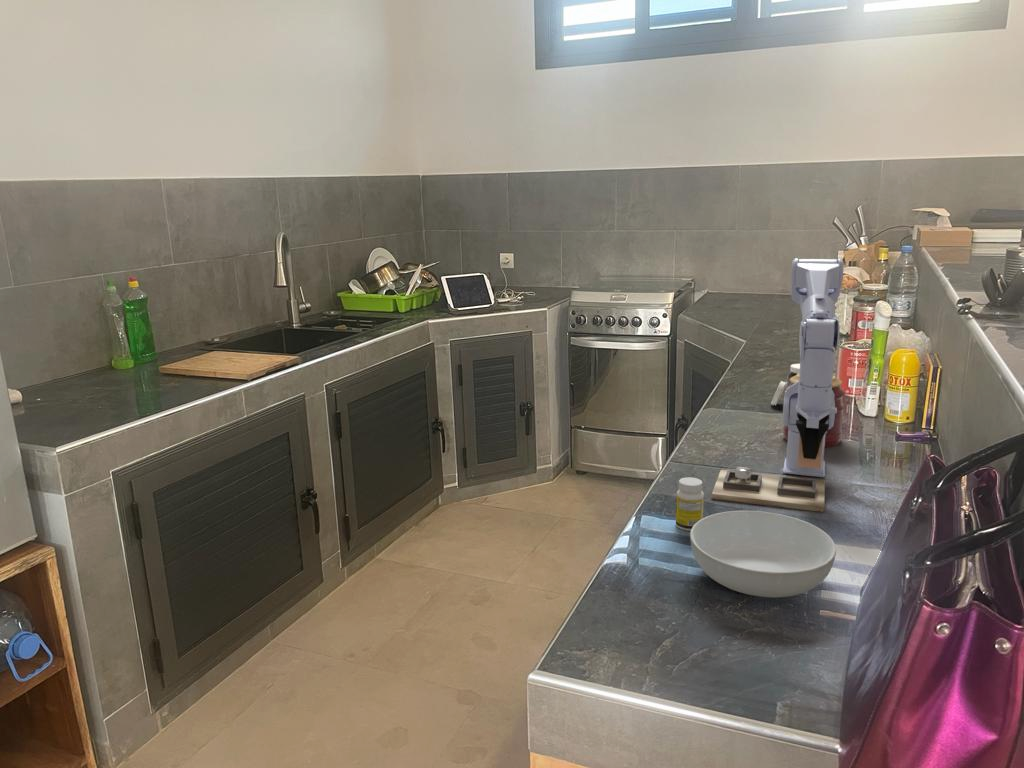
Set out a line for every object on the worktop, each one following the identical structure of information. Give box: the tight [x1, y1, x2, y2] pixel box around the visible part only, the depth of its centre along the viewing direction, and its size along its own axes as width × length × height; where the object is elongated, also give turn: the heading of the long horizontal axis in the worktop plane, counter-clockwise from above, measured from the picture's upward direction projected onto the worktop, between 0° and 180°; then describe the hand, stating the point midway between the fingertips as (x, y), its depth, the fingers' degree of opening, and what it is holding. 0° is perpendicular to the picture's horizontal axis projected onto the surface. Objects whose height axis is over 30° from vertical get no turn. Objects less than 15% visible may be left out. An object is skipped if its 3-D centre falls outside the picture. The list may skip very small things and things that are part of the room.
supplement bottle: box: [675, 476, 705, 532], centre depth 137 cm, size 5×5×8 cm
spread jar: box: [770, 363, 800, 407], centre depth 208 cm, size 12×11×12 cm
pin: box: [734, 466, 752, 484], centre depth 154 cm, size 3×3×3 cm
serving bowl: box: [689, 510, 837, 598], centre depth 118 cm, size 21×21×7 cm
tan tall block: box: [798, 436, 823, 469], centre depth 146 cm, size 4×4×7 cm
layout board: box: [711, 469, 826, 513], centre depth 152 cm, size 14×20×2 cm
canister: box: [781, 373, 846, 448], centre depth 181 cm, size 13×13×18 cm
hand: (809, 454), depth 147 cm, fingers closed on tan tall block, 4 cm apart
